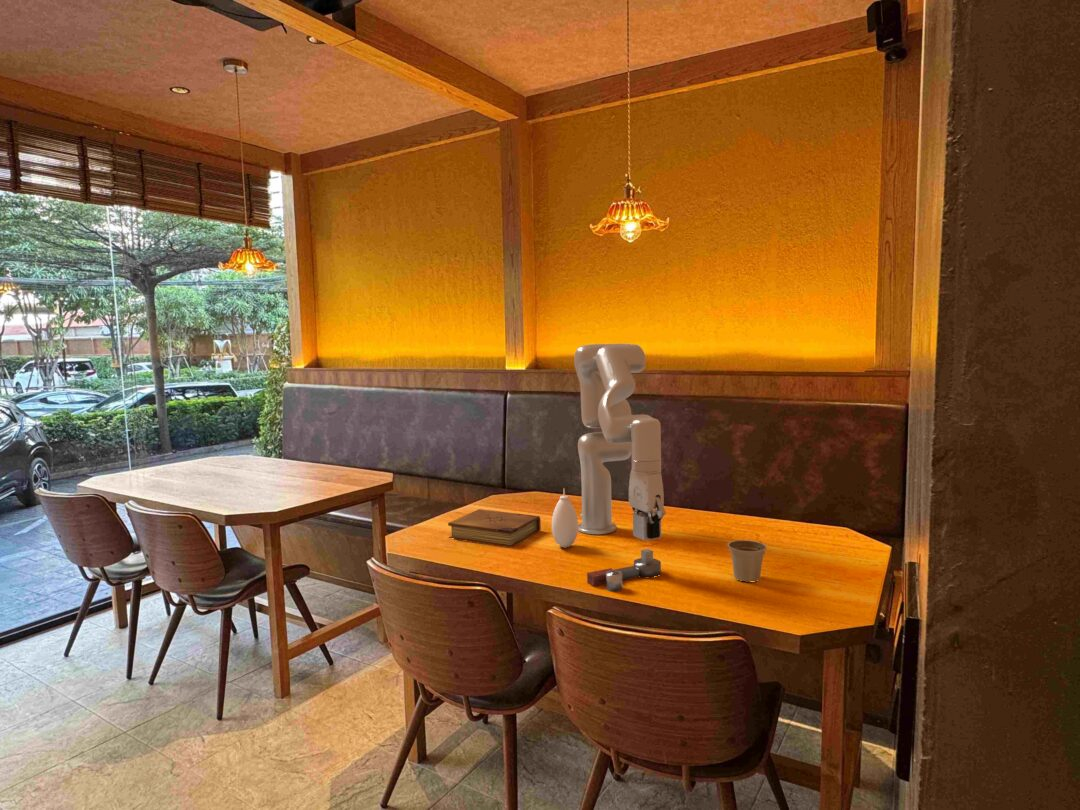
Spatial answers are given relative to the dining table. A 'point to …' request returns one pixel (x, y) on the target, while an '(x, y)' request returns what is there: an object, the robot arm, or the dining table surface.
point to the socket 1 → (614, 581)
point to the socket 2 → (642, 525)
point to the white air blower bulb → (564, 522)
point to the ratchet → (630, 569)
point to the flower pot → (747, 559)
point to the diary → (495, 527)
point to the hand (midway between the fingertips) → (647, 534)
